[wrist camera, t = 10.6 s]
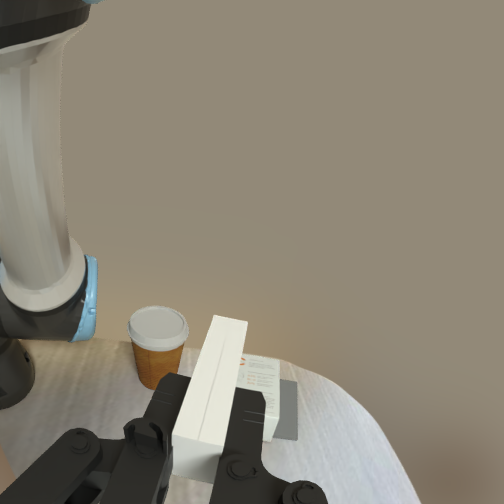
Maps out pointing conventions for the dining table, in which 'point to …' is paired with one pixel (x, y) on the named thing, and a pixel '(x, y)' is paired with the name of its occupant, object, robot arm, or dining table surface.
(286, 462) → the dining table surface
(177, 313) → the disposable coffee cup
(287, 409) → the rubber mat
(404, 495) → the dining table surface
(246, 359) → the small box
